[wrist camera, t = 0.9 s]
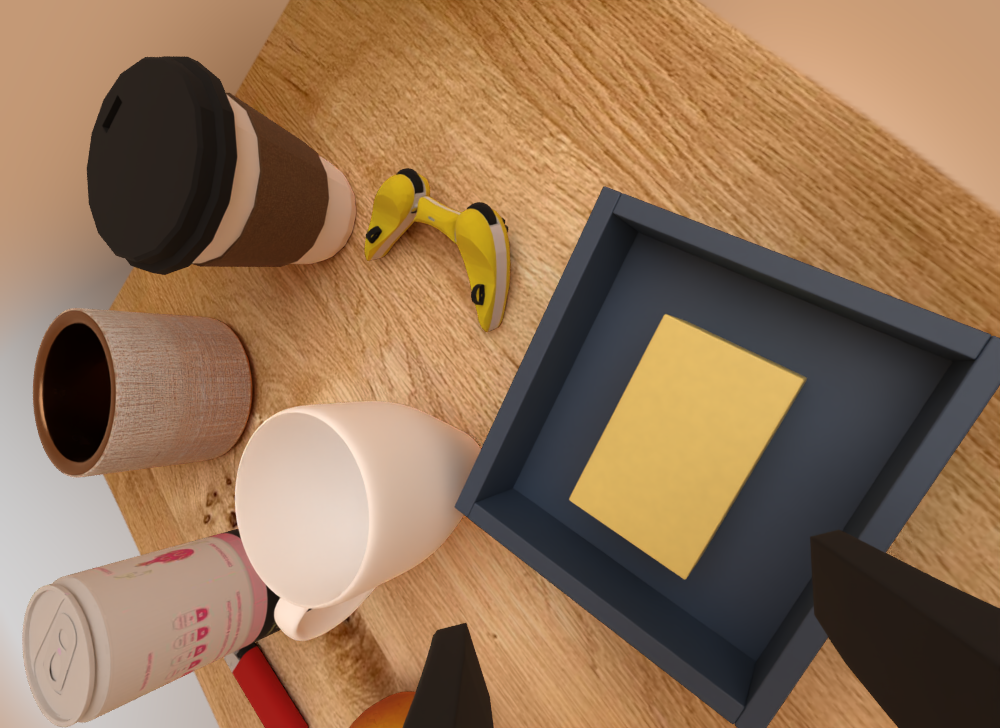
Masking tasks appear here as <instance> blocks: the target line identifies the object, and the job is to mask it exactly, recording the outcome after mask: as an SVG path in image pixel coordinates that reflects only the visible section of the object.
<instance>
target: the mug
mask: <svg viewBox="0 0 1000 728" xmlns="http://www.w3.org/2000/svg"><path fill="white" fill-rule="evenodd" d="M480 451H481V449H480V447H479V445H478V444H477V442H476V441H475V440H474V439H473V438H472V437H471V436H469V435H468V434H467V433H465V432H463V431H461V430H459V429H457V428H455V427H453V426H451V425H449V424H447V423H445V422H443V421H442V420H440V419H438V418H436V417H434V416H432V415H430V414H428V413H425V412H423V411H421V410H418V409H416V408H413V407H410V406H406V405H403V404H398V403H393V402H384V401H357V402H343V403H328V404H314V405H304V406H297V407H293V408H289V409H285V410H283V411H280V412H278V413H276V414H274V415H273V416H271V417H270V418H268V419H267V420H266V421H265V422H263V423H262V424H261V425H260V426H259V427H258V429H257V430H256V431H255V432H254V434H253V435H252V437H251V438H250V440H249V441H248V443H247V445H246V447H245V450H244V452H243V454H242V457H241V460H240V464H239V468H238V472H237V478H236V487H235V509H236V518H237V524H238V529H239V533H240V537H241V540H242V543H243V546H244V549H245V551H246V554H247V556H248V558H249V560H250V562H251V564H252V566H253V568H254V569H255V571H256V572H257V574H258V575H259V577H260V578H261V579H262V581H263V582H264V583H265V584H266V585H267V586H268V587H269V588H270V589H271V590H272V591H273V592H274V593H275V594H276V595H278V596H279V597H280V599H279V601H278V603H277V605H276V607H275V611H274V618H275V621H276V624H277V625H278V627H279V628H280V629H281V630H282V632H283V633H285V634H286V635H287V636H288V637H290V638H292V639H294V640H297V641H307V640H311V639H314V638H316V637H319V636H321V635H323V634H325V633H326V632H328V631H330V630H331V629H333V628H335V627H336V626H337V625H339V624H340V623H341V622H343V621H344V620H345V619H346V618H347V617H349V616H350V615H351V614H352V613H353V612H354V611H355V610H356V609H357V608H358V607H359V606H360V605H361V604H362V603H363V602H364V601H365V599H366V598H367V597H368V596H369V595H370V594H371V593H372V592H373V590H374V589H375V588H376V587H377V586H379V585H381V584H383V583H385V582H387V581H389V580H391V579H393V578H395V577H397V576H399V575H401V574H403V573H405V572H407V571H408V570H410V569H412V568H414V567H415V566H417V565H418V564H420V563H421V562H423V561H424V560H425V559H427V558H428V557H429V556H430V555H432V554H433V553H434V552H435V551H436V550H437V549H438V548H439V547H440V546H441V545H442V544H443V543H444V542H445V541H446V540H447V538H448V537H449V536H450V535H451V533H452V532H453V531H454V529H455V528H456V527H457V525H458V524H459V522H460V521H461V519H462V518H463V516H464V514H462V513H461V512H460V511H458V510H457V509H456V508H455V504H456V502H457V500H458V498H459V496H460V494H461V491H462V489H463V487H464V485H465V483H466V481H467V478H468V476H469V474H470V472H471V470H472V468H473V466H474V463H475V461H476V459H477V457H478V455H479V453H480ZM309 608H310V609H312V610H310V611H308V609H309ZM307 611H308V612H307Z"/></svg>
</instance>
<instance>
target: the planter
mask: <svg viewBox="0 0 1000 728" xmlns="http://www.w3.org/2000/svg"><path fill="white" fill-rule="evenodd" d="M251 403H252V376H251V370H250V365H249V361H248V358H247V355H246V353H245V350H244V348H243V346H242V344H241V342H240V340H239V339H238V337H237V336H236V334H235V333H234V332H233V331H232V330H231V329H230V328H229V327H228V326H227V325H226V324H224V323H222V322H221V321H218V320H216V319H211V318H207V317H197V316H183V315H167V314H151V313H136V312H121V311H108V310H95V309H82V308H73V309H69V310H66V311H64V312H63V313H61V314H60V315H59V316H58V317H56V318H55V319H54V321H53V322H52V323H51V325H50V326H49V328H48V329H47V331H46V333H45V335H44V337H43V340H42V342H41V345H40V348H39V351H38V355H37V360H36V364H35V371H34V380H33V405H34V414H35V421H36V426H37V430H38V433H39V437H40V440H41V443H42V445H43V448H44V450H45V452H46V454H47V455H48V457H49V459H50V460H51V462H52V463H53V464H54V466H55V467H56V468H57V469H58V470H59V471H61V472H62V473H64V474H65V475H67V476H70V477H86V476H93V475H100V474H107V473H114V472H122V471H129V470H137V469H144V468H152V467H160V466H168V465H176V464H184V463H191V462H199V461H206V460H210V459H214V458H217V457H220V456H222V455H224V454H225V453H227V452H228V451H229V450H230V449H231V448H232V447H233V446H234V445H235V444H236V442H237V441H238V439H239V438H240V436H241V434H242V432H243V430H244V428H245V426H246V423H247V420H248V417H249V413H250V409H251Z"/></svg>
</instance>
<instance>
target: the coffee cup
mask: <svg viewBox="0 0 1000 728" xmlns="http://www.w3.org/2000/svg"><path fill="white" fill-rule="evenodd" d="M87 180H88V194H89V195H88V196H89V205H90V208H91V212H92V215H93V218H94V221H95V224H96V228H97V231H98V233H99V234H100V236H101V237H102V238H103V240H104V241H105V242H106V243H107V245H108V246H109V247H110V248H111V250H112V251H113V252H114V253H115V255H116V256H119V257H122V258H125V259H126V260H127V261H128V262H129V264H130V265H131V266H134V267H137V268H140V269H143V270H146V271H149V272H152V273H156V274H162V275H166V274H169V273H171V272H174V271H177V270H180V269H183V268H185V267H188V266H190V265H191V264H194V265H197V266H219V267H281V266H284V265H288V264H313V263H316V262H319V261H323V260H326V259H328V258H331V257H333V256H334V255H335V254H336V253H337V252H339V251H340V250H341V249H342V248H343V247H344V246H345V244H346V242H347V240H348V239H349V237H350V235H351V233H352V231H353V227H354V222H355V217H356V205H355V195H354V193H353V191H352V188H351V186H350V184H349V182H348V180H347V179H346V177H345V176H344V174H343V173H342V172H341V171H340V170H338V169H337V168H336V167H335V166H334V165H332V164H331V163H330V162H328V161H327V160H325V159H324V158H322V157H321V156H319V155H318V153H316V152H315V151H314V150H313V149H312V148H310V147H309V146H308V145H307V144H306V143H304V142H303V141H302V140H300V139H299V138H297V137H295V136H294V135H292V134H291V133H289V132H288V131H286V130H285V129H283V128H282V127H280V126H279V125H277V124H276V123H274V122H273V121H271V120H270V119H268V118H267V117H265V116H264V115H262V114H261V113H259V112H258V111H256V110H255V109H253V108H252V107H250V106H249V105H247V104H246V103H244V102H243V101H241V100H240V99H238V98H237V97H235V96H233V95H232V94H230V93H225V90H224V88H223V85H222V83H221V81H220V79H219V78H217V77H216V76H215V75H214V74H212V73H211V72H210V71H209V70H208V69H207V68H205V67H204V66H203V65H202V64H201V63H199V62H198V61H195V60H193V59H191V58H189V57H145V58H143V59H141V60H140V61H139V62H137V63H136V64H134V65H133V66H131V67H130V68H129V69H127V70H126V71H124V72H123V73H121V74H120V76H119V78H118V79H117V80H116V82H115V84H114V85H113V86H112V88H111V90H110V91H109V93H108V94H107V96H106V97H105V99H104V101H103V103H102V106H101V109H100V112H99V114H98V117H97V120H96V123H95V126H94V129H93V132H92V136H91V143H90V151H89V158H88V164H87Z"/></svg>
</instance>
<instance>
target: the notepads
mask: <svg viewBox="0 0 1000 728" xmlns="http://www.w3.org/2000/svg"><path fill="white" fill-rule="evenodd" d="M806 380H807V378H806V377H805V376H803V375H800V374H798V373H796V372H794V371H792V370H790V369H788V368H785V367H783V366H781V365H779V364H777V363H775V362H773V361H771V360H768V359H766V358H764V357H762V356H760V355H758V354H756V353H754V352H751V351H749V350H747V349H745V348H743V347H741V346H739V345H737V344H734V343H732V342H730V341H728V340H726V339H724V338H722V337H720V336H717V335H715V334H713V333H711V332H709V331H707V330H705V329H703V328H700V327H698V326H696V325H694V324H692V323H690V322H688V321H685V320H682V319H679V318H676V317H673V316H671V315H668V314H665V315H664V316H663V318H662V320H661V322H660V324H659V326H658V327H657V329H656V331H655V333H654V335H653V337H652V339H651V341H650V343H649V345H648V347H647V349H646V351H645V353H644V355H643V356H642V358H641V360H640V362H639V364H638V366H637V368H636V370H635V372H634V374H633V376H632V378H631V380H630V382H629V384H628V385H627V387H626V389H625V391H624V393H623V395H622V397H621V399H620V401H619V403H618V405H617V407H616V409H615V411H614V413H613V414H612V416H611V418H610V420H609V422H608V424H607V426H606V428H605V430H604V432H603V434H602V436H601V438H600V440H599V442H598V443H597V445H596V447H595V449H594V451H593V453H592V455H591V457H590V459H589V461H588V463H587V465H586V467H585V469H584V471H583V472H582V474H581V476H580V478H579V480H578V482H577V484H576V486H575V488H574V490H573V492H572V494H571V496H570V498H569V500H570V501H571V502H572V503H574V504H575V505H577V506H578V507H580V508H581V509H583V510H584V511H586V512H587V513H588V514H590V515H591V516H593V517H594V518H596V519H597V520H599V521H600V522H601V523H603V524H604V525H606V526H607V527H609V528H610V529H612V530H613V531H615V532H616V533H617V534H619V535H620V536H622V537H623V538H625V539H626V540H628V541H629V542H630V543H632V544H633V545H635V546H636V547H638V548H639V549H641V550H642V551H644V552H645V553H646V554H648V555H649V556H651V557H652V558H654V559H655V560H657V561H658V562H660V563H661V564H662V565H664V566H665V567H667V568H668V569H670V570H671V571H673V572H674V573H675V574H677V575H678V576H680V577H681V578H683V579H687V577H688V576H689V574H690V573H691V571H692V570H693V568H694V567H695V565H696V564H697V562H698V561H699V559H700V558H701V556H702V555H703V553H704V552H705V550H706V549H707V547H708V545H709V544H710V542H711V540H712V539H713V537H714V535H715V533H716V532H717V530H718V528H719V527H720V525H721V523H722V522H723V520H724V518H725V517H726V515H727V513H728V512H729V510H730V508H731V507H732V505H733V503H734V502H735V500H736V498H737V496H738V495H739V493H740V491H741V490H742V488H743V486H744V485H745V483H746V481H747V480H748V478H749V476H750V475H751V473H752V471H753V470H754V468H755V466H756V465H757V463H758V461H759V459H760V458H761V456H762V454H763V453H764V451H765V449H766V448H767V446H768V444H769V443H770V441H771V439H772V438H773V436H774V434H775V433H776V431H777V429H778V428H779V426H780V424H781V423H782V421H783V419H784V417H785V416H786V414H787V412H788V411H789V409H790V407H791V406H792V404H793V402H794V401H795V399H796V397H797V396H798V394H799V392H800V391H801V389H802V387H803V386H804V384H805V382H806Z"/></svg>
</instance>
